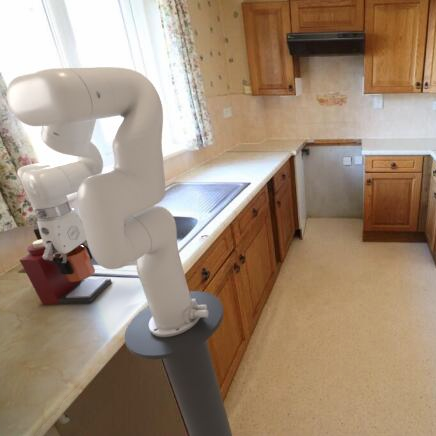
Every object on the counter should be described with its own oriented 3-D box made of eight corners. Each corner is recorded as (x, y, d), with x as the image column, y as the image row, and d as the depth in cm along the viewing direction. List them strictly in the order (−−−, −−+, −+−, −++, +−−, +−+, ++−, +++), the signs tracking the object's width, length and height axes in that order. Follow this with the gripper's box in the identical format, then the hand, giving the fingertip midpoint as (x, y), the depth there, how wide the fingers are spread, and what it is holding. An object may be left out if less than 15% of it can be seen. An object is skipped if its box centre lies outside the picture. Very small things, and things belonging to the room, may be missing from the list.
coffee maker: (112, 282, 102) (95, 241, 96) (90, 303, 93) (71, 259, 86) (83, 283, 102) (65, 242, 96) (59, 304, 93) (37, 260, 87)
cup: (100, 268, 98) (91, 245, 94) (84, 281, 92) (74, 257, 88) (78, 268, 98) (68, 245, 94) (61, 282, 92) (50, 258, 88)
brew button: (50, 243, 92) (48, 238, 91) (42, 248, 89) (39, 243, 89) (40, 243, 92) (38, 238, 91) (31, 249, 89) (29, 244, 89)
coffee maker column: (85, 283, 102) (64, 236, 95) (61, 304, 93) (36, 253, 86) (66, 283, 102) (45, 236, 95) (41, 304, 93) (14, 254, 86)
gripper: (40, 224, 78) (68, 284, 85) (89, 197, 94) (109, 250, 101) (10, 224, 78) (40, 284, 86) (64, 198, 94) (85, 251, 101)
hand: (77, 265), depth 93 cm, fingers closed on cup, 6 cm apart
